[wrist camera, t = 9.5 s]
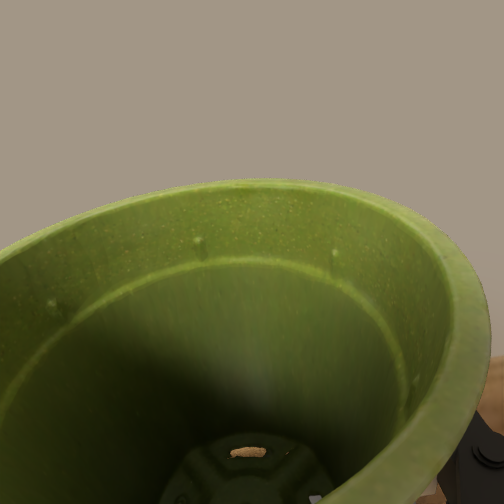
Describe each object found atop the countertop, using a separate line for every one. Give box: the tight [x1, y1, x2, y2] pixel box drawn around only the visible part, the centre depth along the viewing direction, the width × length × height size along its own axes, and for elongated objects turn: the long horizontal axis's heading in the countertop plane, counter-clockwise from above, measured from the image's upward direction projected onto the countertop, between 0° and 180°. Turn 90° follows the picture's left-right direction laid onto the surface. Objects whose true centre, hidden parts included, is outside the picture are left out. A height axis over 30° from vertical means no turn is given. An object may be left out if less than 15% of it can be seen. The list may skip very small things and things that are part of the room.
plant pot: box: [0, 178, 491, 504], centre depth 11 cm, size 12×12×11 cm
